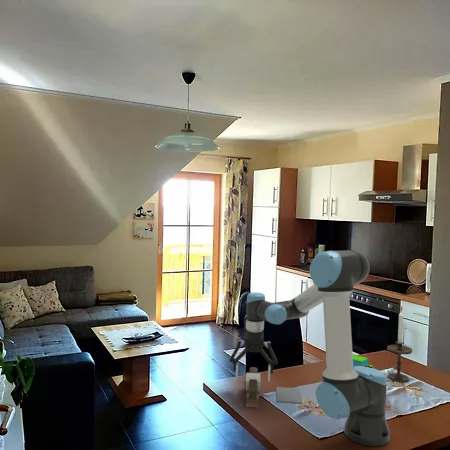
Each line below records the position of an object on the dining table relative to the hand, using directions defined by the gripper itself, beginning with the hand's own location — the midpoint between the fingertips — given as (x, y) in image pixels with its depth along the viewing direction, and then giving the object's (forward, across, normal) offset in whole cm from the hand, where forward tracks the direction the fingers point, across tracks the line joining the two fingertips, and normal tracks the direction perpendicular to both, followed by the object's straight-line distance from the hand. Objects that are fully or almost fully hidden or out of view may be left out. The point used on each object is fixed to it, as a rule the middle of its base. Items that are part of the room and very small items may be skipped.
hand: (252, 379), depth 184 cm
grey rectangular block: (+3, 0, 0) cm, 3 cm away
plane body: (+6, 0, 0) cm, 6 cm away
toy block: (+6, -50, -26) cm, 57 cm away
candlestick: (+6, -68, -26) cm, 73 cm away
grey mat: (+6, -15, 0) cm, 16 cm away
